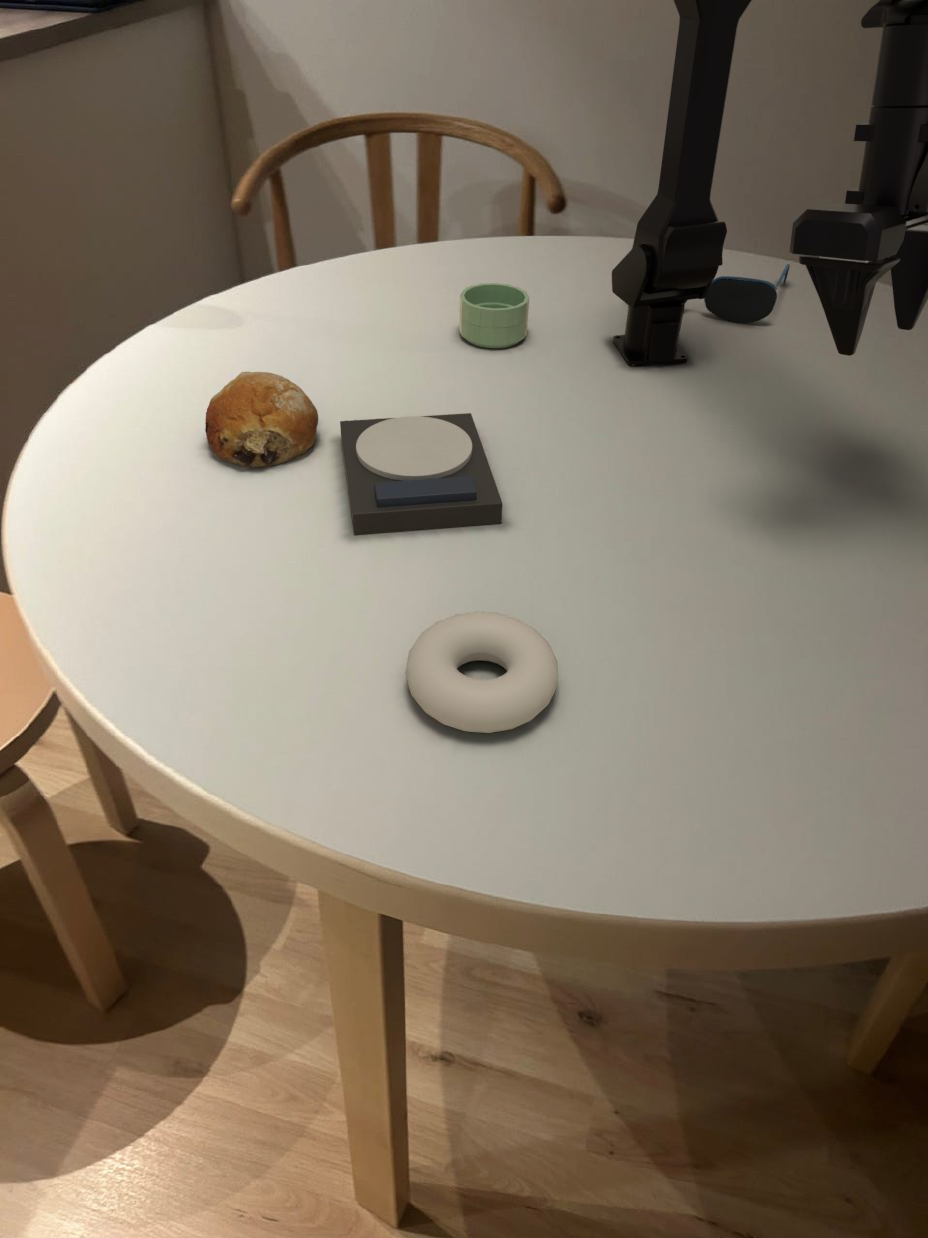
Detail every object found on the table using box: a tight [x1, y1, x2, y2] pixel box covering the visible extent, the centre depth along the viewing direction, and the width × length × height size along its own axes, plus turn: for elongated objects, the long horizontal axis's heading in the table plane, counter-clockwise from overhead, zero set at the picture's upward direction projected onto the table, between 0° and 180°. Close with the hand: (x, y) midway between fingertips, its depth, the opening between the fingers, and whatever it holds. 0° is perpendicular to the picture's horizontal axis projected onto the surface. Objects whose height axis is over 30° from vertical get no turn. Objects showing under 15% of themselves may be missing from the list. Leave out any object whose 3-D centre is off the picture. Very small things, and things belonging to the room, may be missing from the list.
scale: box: [339, 412, 503, 536], centre depth 82 cm, size 15×12×3 cm
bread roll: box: [204, 371, 319, 468], centre depth 86 cm, size 10×10×8 cm
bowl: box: [458, 282, 530, 349], centre depth 104 cm, size 7×7×4 cm
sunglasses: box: [685, 263, 791, 324], centre depth 115 cm, size 17×15×5 cm
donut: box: [404, 610, 559, 734], centre depth 62 cm, size 10×4×10 cm
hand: (876, 341), depth 72 cm, fingers open, 9 cm apart
